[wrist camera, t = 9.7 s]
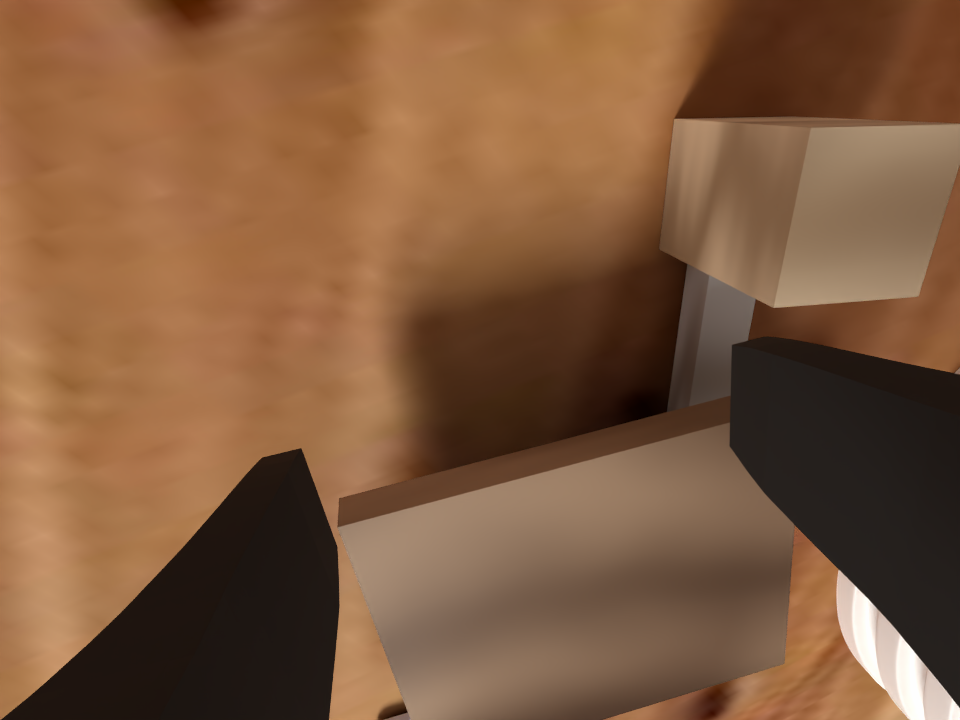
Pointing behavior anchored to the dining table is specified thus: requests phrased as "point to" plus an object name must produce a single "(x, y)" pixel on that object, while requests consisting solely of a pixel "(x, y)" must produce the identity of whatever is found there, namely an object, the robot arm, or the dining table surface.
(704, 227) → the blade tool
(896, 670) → the plate stack
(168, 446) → the dining table surface
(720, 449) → the shelf
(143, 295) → the dining table surface
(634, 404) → the dining table surface
